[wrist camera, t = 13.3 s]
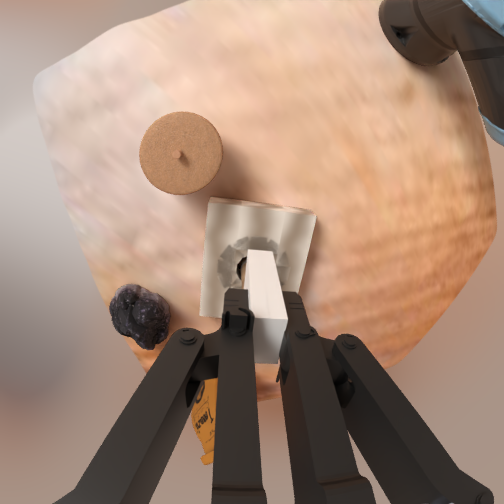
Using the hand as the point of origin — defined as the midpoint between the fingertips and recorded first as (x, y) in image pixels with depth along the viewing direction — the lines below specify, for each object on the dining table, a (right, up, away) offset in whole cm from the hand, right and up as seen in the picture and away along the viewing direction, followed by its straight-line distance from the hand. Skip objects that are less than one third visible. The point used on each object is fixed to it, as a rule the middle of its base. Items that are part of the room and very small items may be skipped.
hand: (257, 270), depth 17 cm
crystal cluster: (-22, -10, +34) cm, 41 cm away
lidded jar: (-10, +17, +22) cm, 29 cm away
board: (0, 0, +30) cm, 30 cm away
